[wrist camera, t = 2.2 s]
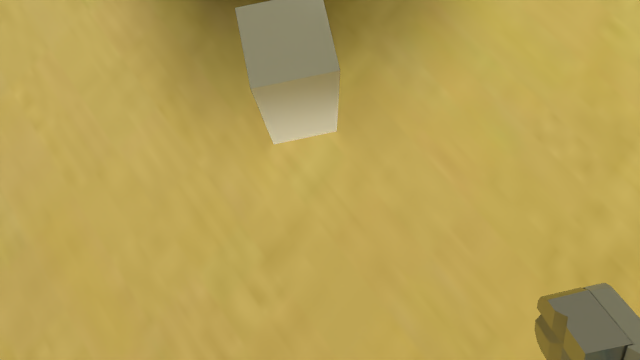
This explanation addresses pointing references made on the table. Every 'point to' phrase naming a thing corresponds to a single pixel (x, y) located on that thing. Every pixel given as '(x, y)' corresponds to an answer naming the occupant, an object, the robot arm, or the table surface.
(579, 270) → the table surface
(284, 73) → the off-white block
